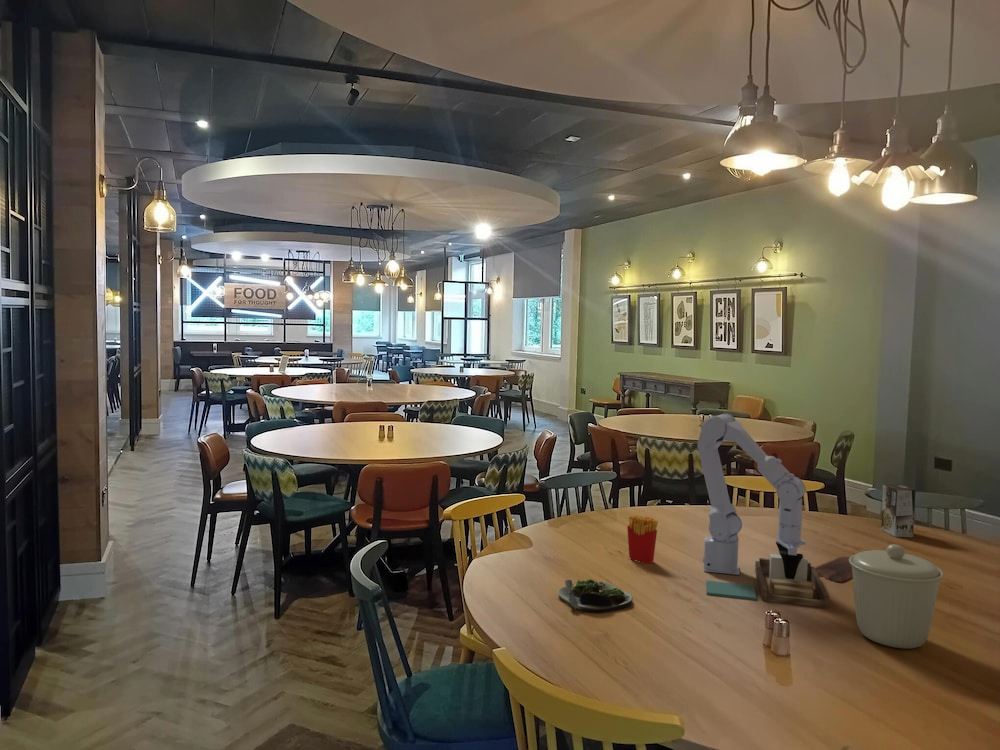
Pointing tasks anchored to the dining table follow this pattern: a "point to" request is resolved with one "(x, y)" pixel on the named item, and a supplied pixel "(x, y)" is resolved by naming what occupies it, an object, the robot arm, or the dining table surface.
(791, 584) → the offcut block large
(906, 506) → the coffee box
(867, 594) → the canister
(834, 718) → the dining table surface
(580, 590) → the salad plate
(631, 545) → the french fries
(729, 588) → the mat
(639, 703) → the dining table surface
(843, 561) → the wooden tablet
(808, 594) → the offcut block small
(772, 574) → the grey sheet
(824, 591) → the rack
